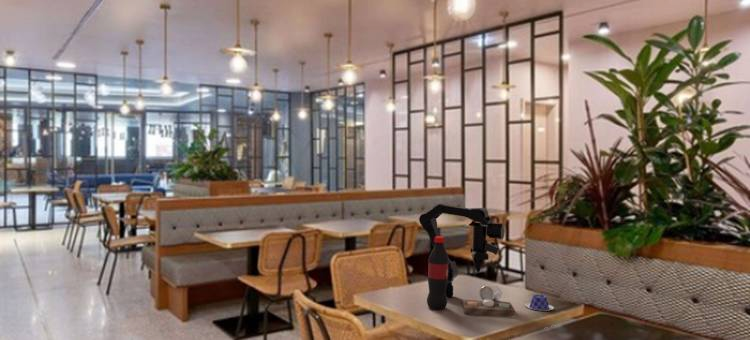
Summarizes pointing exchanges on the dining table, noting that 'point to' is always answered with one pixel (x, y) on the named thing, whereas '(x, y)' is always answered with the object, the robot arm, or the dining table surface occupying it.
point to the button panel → (488, 309)
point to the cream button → (488, 303)
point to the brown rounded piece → (472, 303)
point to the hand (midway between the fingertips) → (478, 272)
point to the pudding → (539, 303)
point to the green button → (504, 305)
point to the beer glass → (490, 292)
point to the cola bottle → (437, 276)
